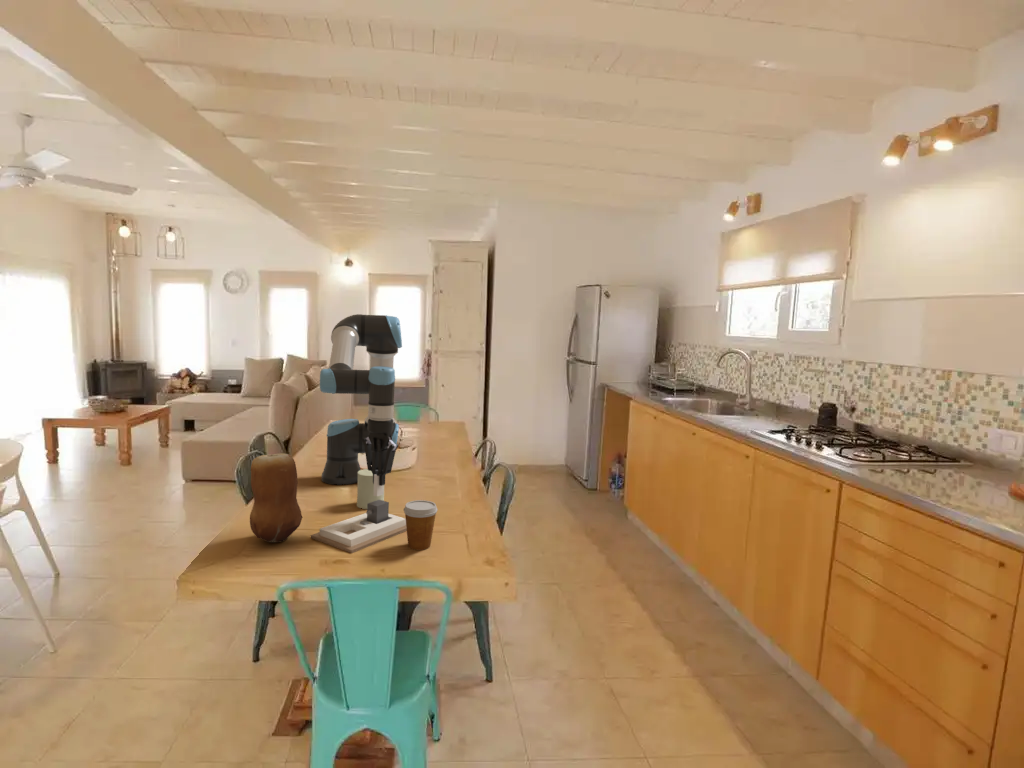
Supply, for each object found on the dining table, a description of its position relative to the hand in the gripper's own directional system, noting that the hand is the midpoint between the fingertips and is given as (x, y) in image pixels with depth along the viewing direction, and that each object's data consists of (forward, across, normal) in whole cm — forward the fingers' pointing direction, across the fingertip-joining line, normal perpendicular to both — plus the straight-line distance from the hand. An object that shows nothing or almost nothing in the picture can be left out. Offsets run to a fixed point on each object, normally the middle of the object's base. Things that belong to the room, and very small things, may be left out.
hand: (378, 494), depth 176 cm
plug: (+10, 0, 0) cm, 10 cm away
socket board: (+10, 0, -6) cm, 12 cm away
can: (+11, -17, +14) cm, 24 cm away
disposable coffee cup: (+11, +19, -2) cm, 22 cm away
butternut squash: (+11, -14, -26) cm, 31 cm away
